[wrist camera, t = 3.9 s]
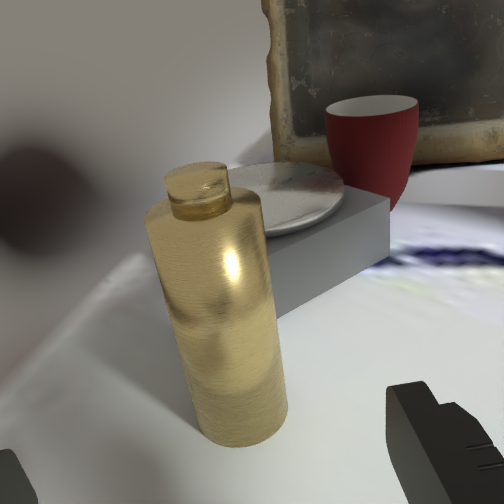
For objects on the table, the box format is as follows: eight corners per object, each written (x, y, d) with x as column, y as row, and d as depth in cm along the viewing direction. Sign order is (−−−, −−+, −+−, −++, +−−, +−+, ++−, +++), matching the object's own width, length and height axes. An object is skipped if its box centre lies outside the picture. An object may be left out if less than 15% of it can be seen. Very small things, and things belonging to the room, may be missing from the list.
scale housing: (277, 209, 49) (271, 163, 46) (389, 255, 37) (390, 198, 35) (156, 260, 42) (143, 210, 40) (249, 333, 31) (238, 270, 29)
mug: (338, 185, 52) (333, 93, 48) (413, 183, 50) (417, 86, 45) (325, 226, 44) (318, 119, 39) (416, 227, 41) (420, 112, 36)
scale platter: (274, 163, 45) (273, 153, 44) (380, 194, 35) (380, 181, 35) (153, 207, 39) (150, 196, 38) (239, 259, 29) (237, 245, 29)
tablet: (275, 191, 53) (245, -69, 42) (276, 155, 65) (253, -55, 54) (578, 160, 50) (640, -136, 38) (520, 128, 62) (553, -104, 50)
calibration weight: (252, 363, 28) (215, 146, 22) (307, 410, 25) (280, 165, 18) (181, 406, 26) (116, 178, 20) (229, 465, 22) (168, 207, 16)
